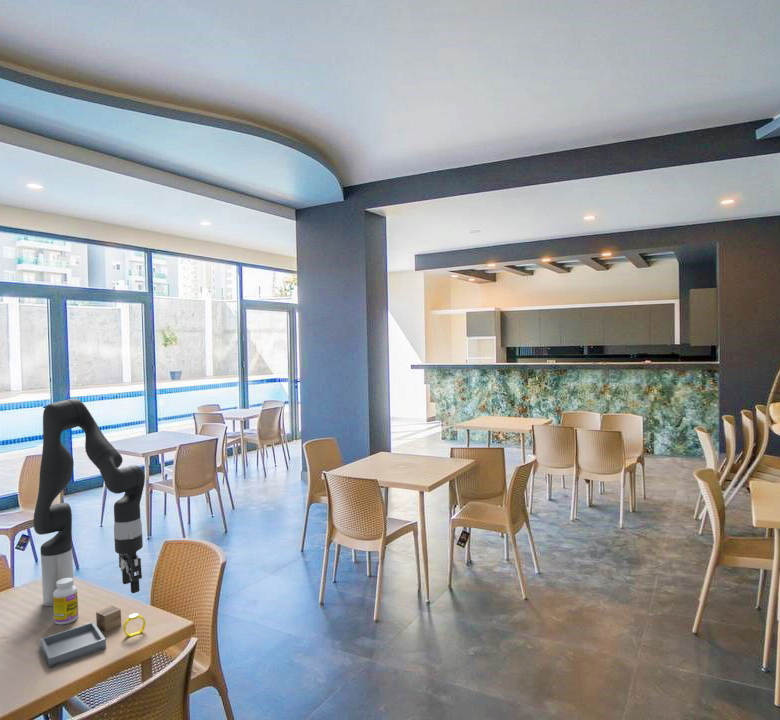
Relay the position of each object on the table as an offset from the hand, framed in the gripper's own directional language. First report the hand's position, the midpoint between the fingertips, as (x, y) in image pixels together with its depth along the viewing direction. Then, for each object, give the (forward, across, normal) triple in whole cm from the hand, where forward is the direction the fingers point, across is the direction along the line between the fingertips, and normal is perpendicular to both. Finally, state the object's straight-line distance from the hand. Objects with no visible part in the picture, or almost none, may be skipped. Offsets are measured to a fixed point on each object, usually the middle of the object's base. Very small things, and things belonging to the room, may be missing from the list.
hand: (131, 587), depth 163 cm
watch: (+15, 0, 0) cm, 15 cm away
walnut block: (+14, -11, -4) cm, 19 cm away
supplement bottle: (+14, -25, -13) cm, 32 cm away
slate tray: (+14, -5, -15) cm, 21 cm away
